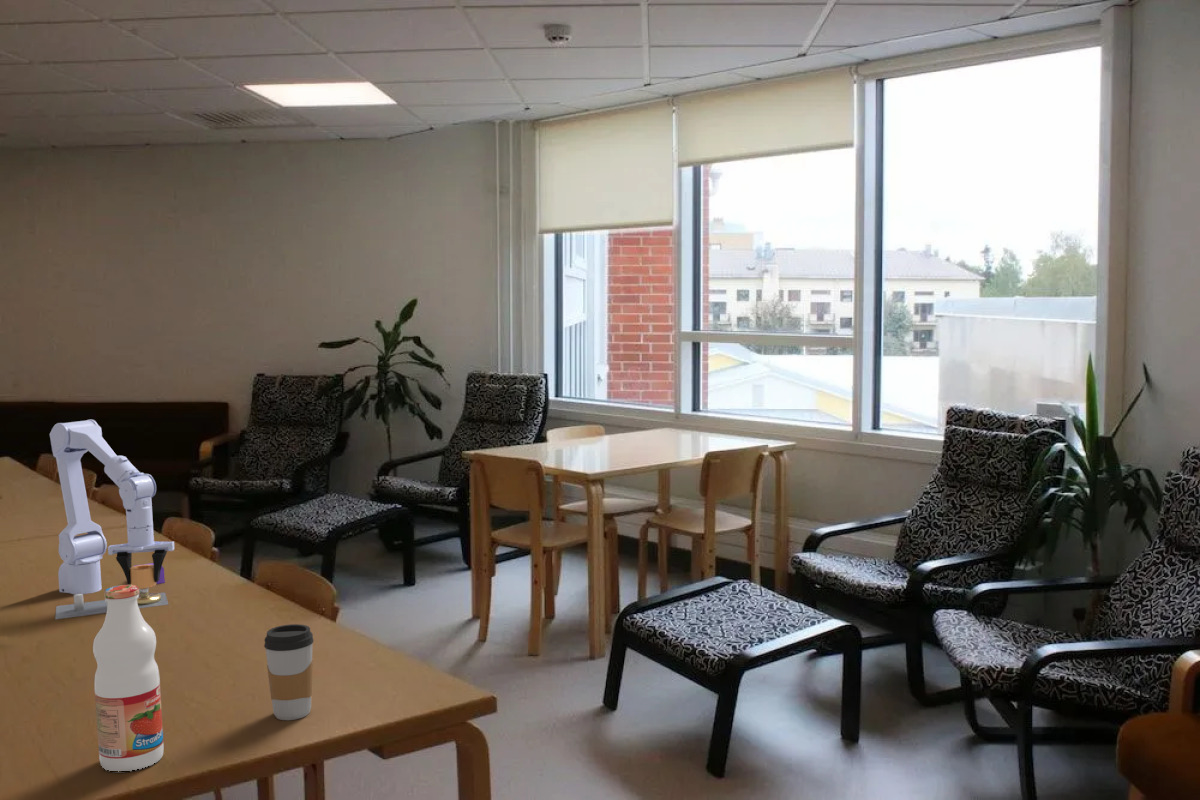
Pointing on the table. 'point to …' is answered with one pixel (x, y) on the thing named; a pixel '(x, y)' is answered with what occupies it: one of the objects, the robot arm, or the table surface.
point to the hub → (147, 597)
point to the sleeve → (142, 576)
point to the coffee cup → (290, 670)
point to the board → (93, 607)
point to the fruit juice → (127, 686)
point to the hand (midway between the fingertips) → (143, 581)
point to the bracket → (161, 579)
